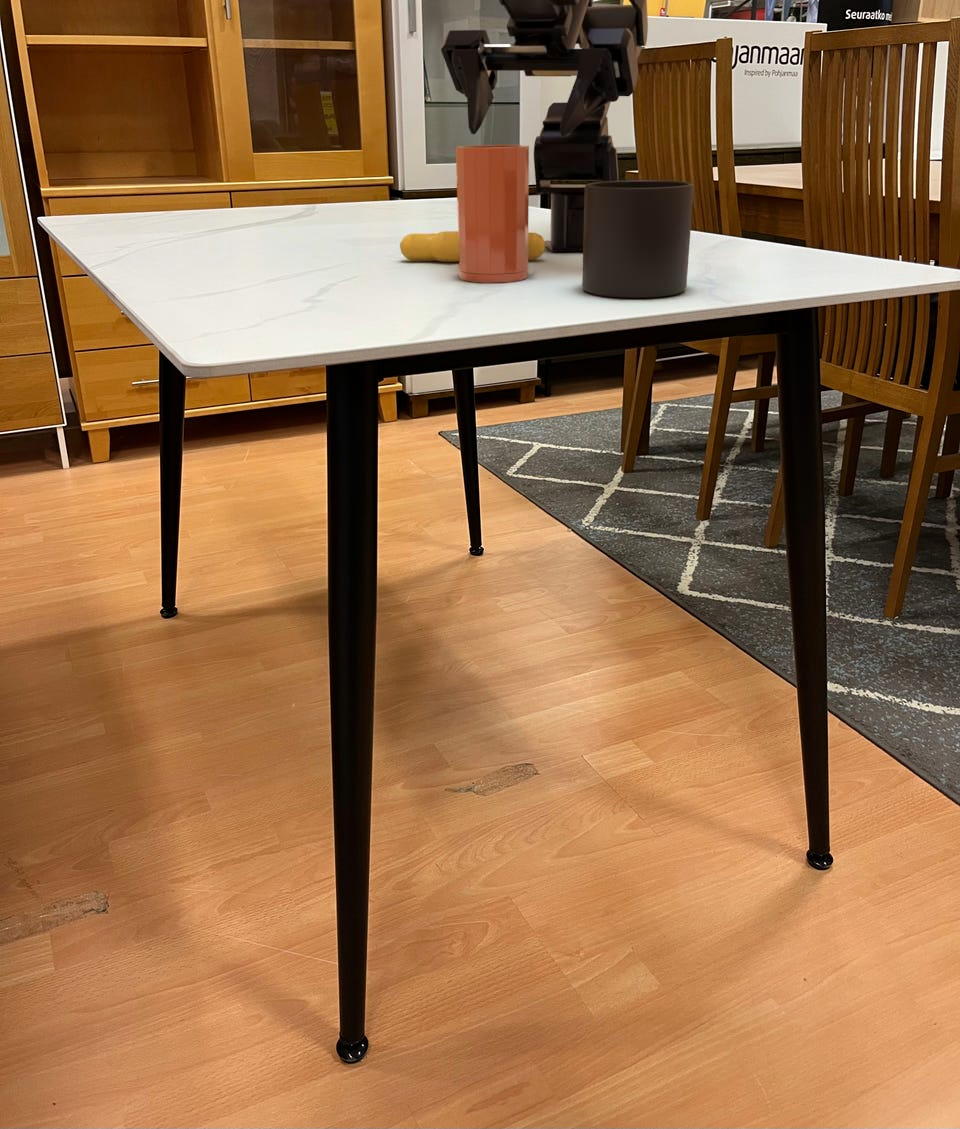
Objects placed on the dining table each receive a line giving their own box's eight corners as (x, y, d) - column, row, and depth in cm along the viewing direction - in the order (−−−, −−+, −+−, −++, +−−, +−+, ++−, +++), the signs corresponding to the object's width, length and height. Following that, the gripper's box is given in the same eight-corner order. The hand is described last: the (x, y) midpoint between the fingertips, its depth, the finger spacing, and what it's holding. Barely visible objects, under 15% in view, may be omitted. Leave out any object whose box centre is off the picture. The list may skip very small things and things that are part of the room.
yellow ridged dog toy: (397, 264, 105) (395, 233, 103) (402, 259, 108) (400, 229, 107) (544, 263, 104) (545, 232, 102) (545, 258, 107) (545, 228, 106)
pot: (456, 273, 99) (453, 145, 93) (522, 270, 99) (522, 144, 94) (462, 283, 92) (459, 148, 87) (532, 281, 93) (533, 146, 88)
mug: (675, 276, 94) (682, 177, 90) (693, 298, 83) (701, 187, 79) (579, 277, 95) (581, 178, 91) (584, 299, 84) (587, 188, 80)
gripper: (447, -67, 91) (398, 64, 87) (640, -77, 84) (597, 64, 81) (479, 31, 101) (437, 152, 97) (654, 29, 95) (616, 158, 91)
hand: (516, 132), depth 91 cm, fingers open, 9 cm apart
